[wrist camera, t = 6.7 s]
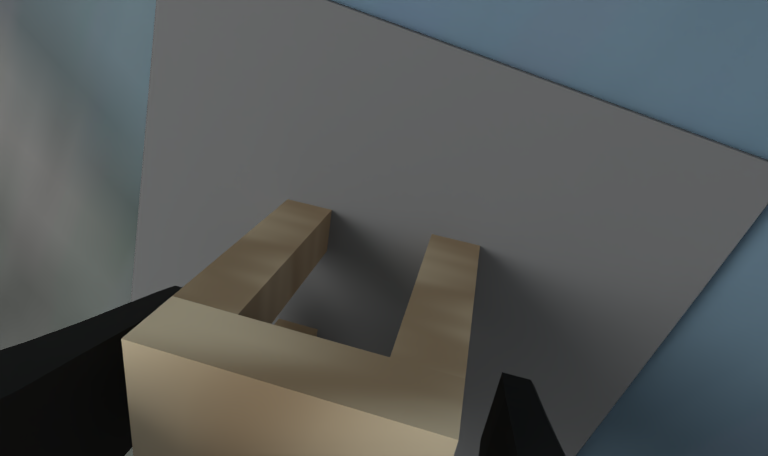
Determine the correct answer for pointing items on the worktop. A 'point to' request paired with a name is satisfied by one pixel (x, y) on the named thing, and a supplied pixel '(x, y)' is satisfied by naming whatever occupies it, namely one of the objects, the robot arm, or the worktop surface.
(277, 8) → the mat
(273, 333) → the stool
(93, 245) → the worktop surface
